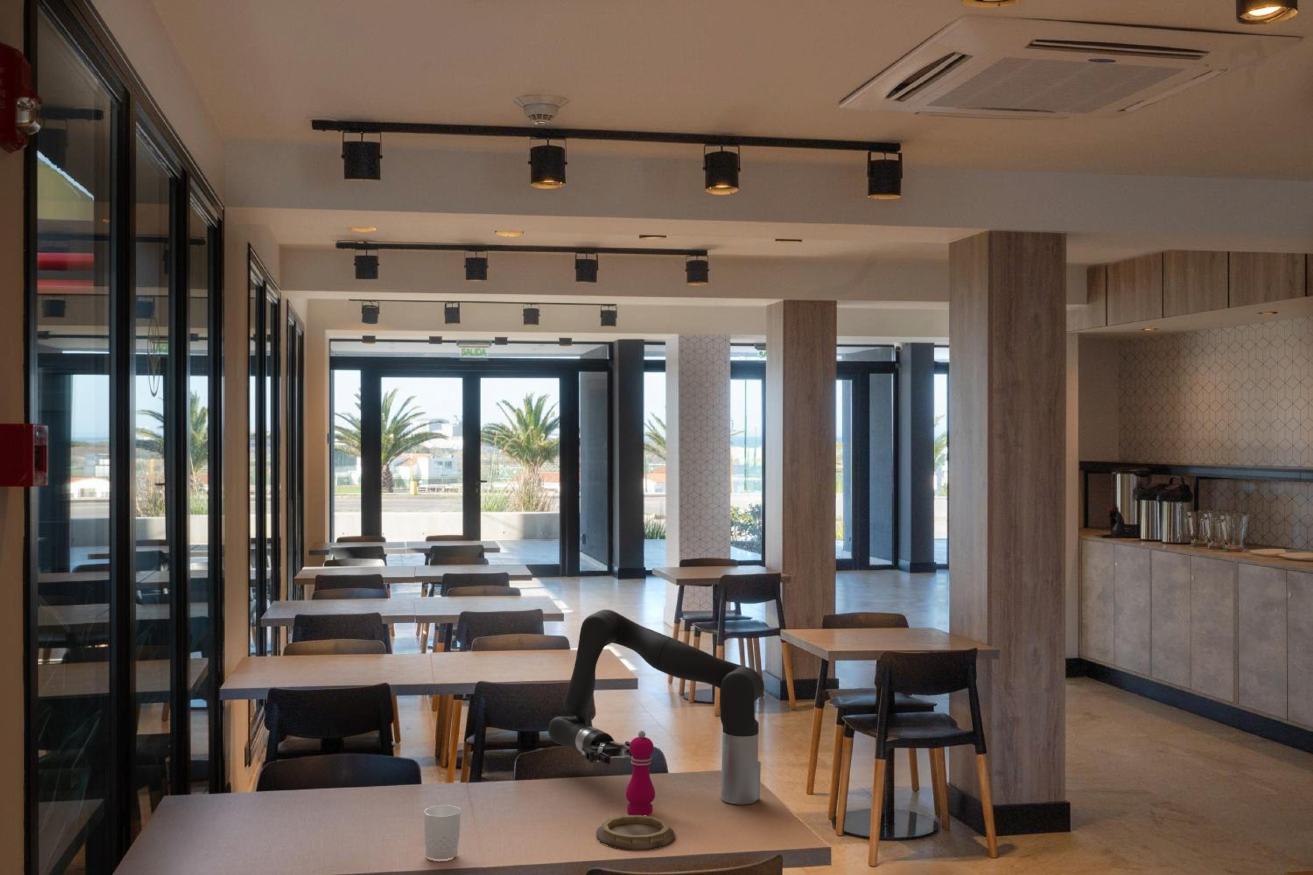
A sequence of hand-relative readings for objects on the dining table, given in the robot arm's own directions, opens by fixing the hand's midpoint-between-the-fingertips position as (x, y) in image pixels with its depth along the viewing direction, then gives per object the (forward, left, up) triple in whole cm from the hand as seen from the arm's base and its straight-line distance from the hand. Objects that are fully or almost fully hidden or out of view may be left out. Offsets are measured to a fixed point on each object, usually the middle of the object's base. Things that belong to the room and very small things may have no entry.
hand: (623, 758), depth 296 cm
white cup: (+56, +7, -11) cm, 57 cm away
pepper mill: (+2, +9, -11) cm, 14 cm away
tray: (+14, +22, -11) cm, 28 cm away
